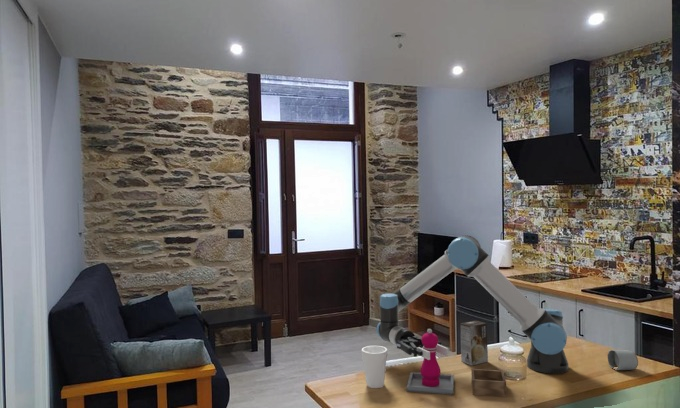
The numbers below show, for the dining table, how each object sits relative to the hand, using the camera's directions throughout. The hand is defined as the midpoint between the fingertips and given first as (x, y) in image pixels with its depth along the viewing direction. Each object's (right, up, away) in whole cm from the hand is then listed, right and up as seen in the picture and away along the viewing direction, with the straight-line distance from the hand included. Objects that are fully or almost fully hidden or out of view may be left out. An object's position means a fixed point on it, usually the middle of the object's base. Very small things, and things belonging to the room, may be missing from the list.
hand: (438, 354), depth 166 cm
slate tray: (-2, -13, +4) cm, 14 cm away
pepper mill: (-2, -12, +4) cm, 13 cm away
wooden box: (+18, -12, -1) cm, 21 cm away
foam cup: (-22, -14, +6) cm, 27 cm away
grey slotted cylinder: (+75, -11, +17) cm, 77 cm away
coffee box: (+21, -12, +28) cm, 37 cm away
